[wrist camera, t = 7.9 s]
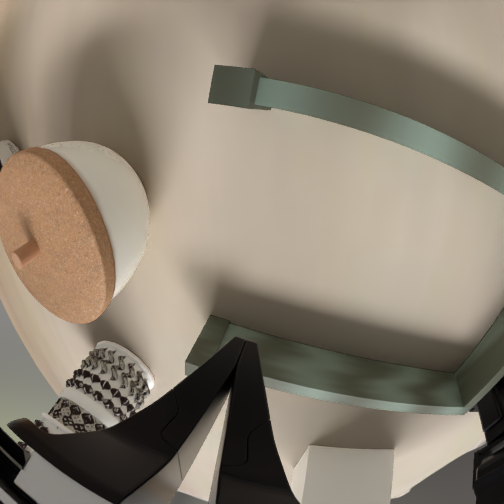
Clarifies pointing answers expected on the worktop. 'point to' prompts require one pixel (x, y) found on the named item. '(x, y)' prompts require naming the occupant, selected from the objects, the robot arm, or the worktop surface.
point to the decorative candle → (99, 392)
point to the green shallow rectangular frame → (333, 363)
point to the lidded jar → (73, 225)
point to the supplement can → (6, 151)
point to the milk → (343, 476)
